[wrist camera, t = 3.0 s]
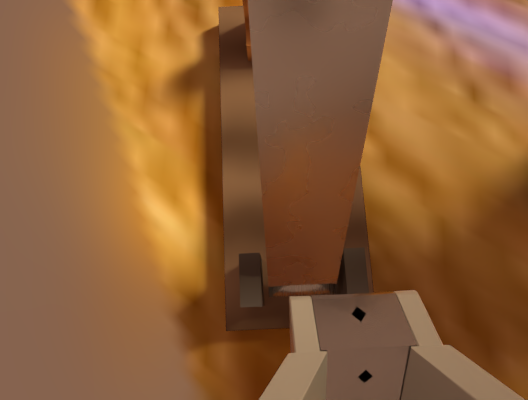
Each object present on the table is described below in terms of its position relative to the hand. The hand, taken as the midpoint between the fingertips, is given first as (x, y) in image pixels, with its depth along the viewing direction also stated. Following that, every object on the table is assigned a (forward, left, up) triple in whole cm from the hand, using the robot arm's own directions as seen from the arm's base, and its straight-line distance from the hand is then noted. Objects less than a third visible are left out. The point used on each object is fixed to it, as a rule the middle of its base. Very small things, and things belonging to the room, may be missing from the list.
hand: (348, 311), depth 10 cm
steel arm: (+3, -6, -8) cm, 10 cm away
